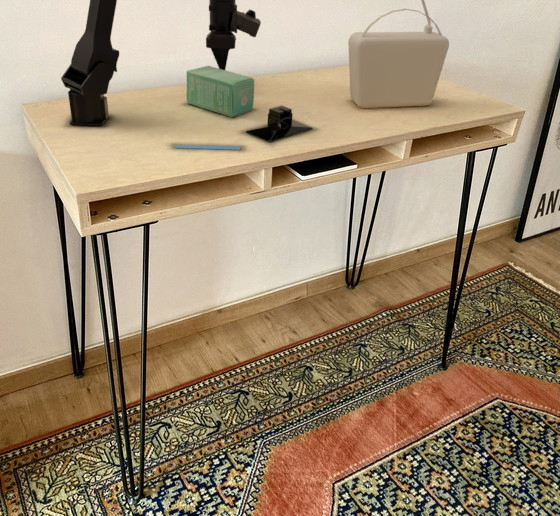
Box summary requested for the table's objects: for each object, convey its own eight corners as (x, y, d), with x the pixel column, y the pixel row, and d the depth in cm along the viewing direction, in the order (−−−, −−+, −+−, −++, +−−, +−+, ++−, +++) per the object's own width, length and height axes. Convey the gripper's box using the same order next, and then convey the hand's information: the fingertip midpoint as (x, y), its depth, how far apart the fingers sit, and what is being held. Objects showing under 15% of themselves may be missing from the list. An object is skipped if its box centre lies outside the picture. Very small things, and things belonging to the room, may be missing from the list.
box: (233, 118, 132) (233, 83, 128) (186, 104, 138) (185, 70, 135) (254, 110, 137) (255, 76, 133) (208, 97, 144) (207, 64, 140)
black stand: (269, 143, 121) (269, 120, 119) (244, 133, 125) (244, 110, 123) (312, 129, 129) (314, 107, 126) (287, 119, 133) (288, 98, 130)
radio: (424, 95, 152) (443, -16, 139) (440, 106, 145) (461, -10, 132) (339, 98, 147) (350, -17, 134) (351, 109, 140) (363, -10, 127)
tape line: (175, 148, 117) (175, 147, 117) (176, 145, 118) (176, 144, 118) (240, 149, 117) (240, 149, 117) (240, 146, 119) (240, 146, 119)
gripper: (259, 9, 130) (257, 84, 138) (259, -6, 145) (257, 62, 154) (205, 6, 129) (206, 82, 137) (211, -8, 145) (212, 60, 153)
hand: (222, 71), depth 145 cm, fingers closed
